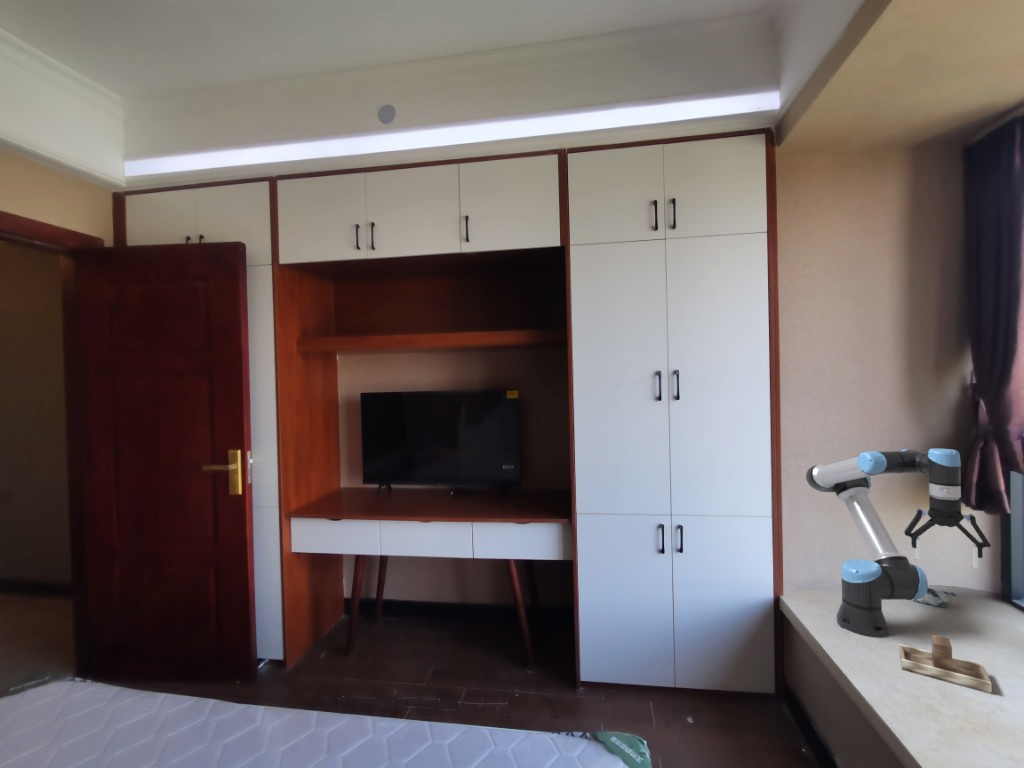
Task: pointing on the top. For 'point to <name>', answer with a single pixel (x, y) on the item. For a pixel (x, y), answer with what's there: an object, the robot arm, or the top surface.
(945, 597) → the seashell
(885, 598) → the robot arm
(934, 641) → the tan wooden block
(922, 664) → the open wooden box
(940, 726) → the top surface
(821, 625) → the top surface
